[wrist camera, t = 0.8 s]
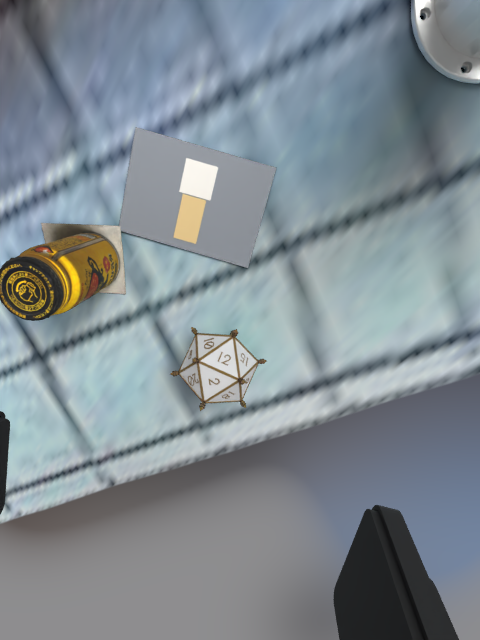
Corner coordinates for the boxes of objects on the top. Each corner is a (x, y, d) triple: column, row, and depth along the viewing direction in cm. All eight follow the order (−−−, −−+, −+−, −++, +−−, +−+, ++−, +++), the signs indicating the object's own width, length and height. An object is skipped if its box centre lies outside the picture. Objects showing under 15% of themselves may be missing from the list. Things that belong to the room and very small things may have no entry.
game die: (228, 356, 48) (196, 431, 42) (182, 312, 43) (140, 389, 38) (288, 347, 42) (262, 433, 36) (243, 295, 38) (204, 383, 32)
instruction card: (136, 127, 37) (135, 126, 37) (276, 168, 37) (276, 167, 37) (119, 229, 41) (117, 230, 40) (248, 267, 40) (247, 268, 40)
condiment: (126, 293, 43) (71, 334, 31) (52, 289, 43) (-28, 328, 32) (121, 225, 40) (59, 243, 29) (43, 222, 41) (-48, 239, 30)
